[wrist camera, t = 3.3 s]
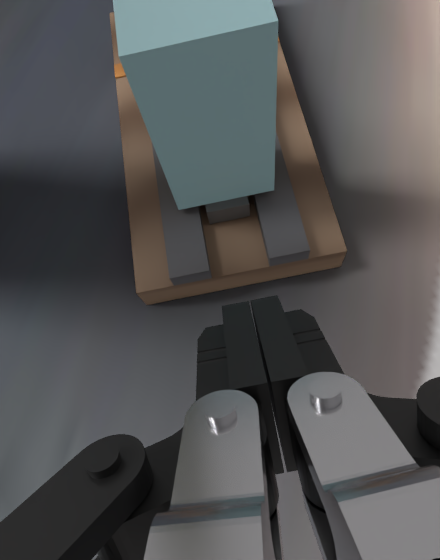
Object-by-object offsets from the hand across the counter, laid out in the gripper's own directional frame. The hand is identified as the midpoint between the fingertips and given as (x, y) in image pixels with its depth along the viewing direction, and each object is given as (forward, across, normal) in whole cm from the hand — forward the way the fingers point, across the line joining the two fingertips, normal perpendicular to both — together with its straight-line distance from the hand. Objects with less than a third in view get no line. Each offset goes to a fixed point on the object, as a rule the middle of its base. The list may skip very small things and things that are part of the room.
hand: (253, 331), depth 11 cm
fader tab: (+13, 0, -2) cm, 13 cm away
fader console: (+19, 0, -4) cm, 19 cm away
